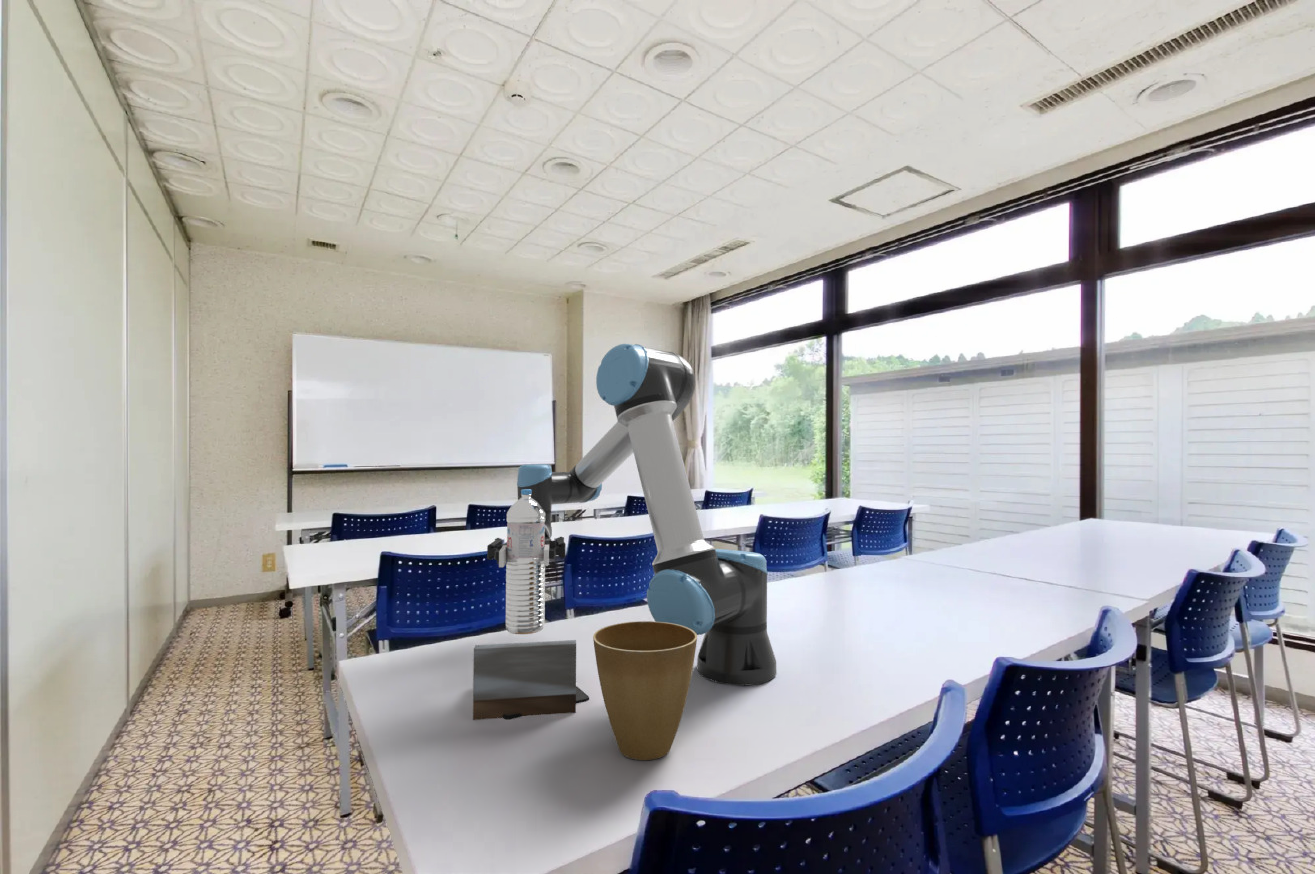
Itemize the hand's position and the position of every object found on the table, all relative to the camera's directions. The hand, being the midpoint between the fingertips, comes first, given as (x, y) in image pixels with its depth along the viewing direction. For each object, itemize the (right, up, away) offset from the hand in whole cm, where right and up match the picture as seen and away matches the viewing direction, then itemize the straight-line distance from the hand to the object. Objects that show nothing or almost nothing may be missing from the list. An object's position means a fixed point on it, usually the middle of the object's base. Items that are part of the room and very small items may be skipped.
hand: (523, 558), depth 100 cm
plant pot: (+21, -24, -17) cm, 36 cm away
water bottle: (-1, -14, +5) cm, 15 cm away
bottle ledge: (+1, -24, 0) cm, 24 cm away
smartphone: (+3, -24, -1) cm, 25 cm away
